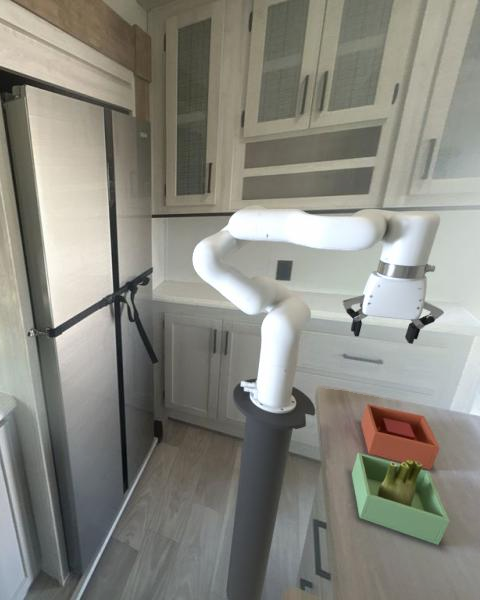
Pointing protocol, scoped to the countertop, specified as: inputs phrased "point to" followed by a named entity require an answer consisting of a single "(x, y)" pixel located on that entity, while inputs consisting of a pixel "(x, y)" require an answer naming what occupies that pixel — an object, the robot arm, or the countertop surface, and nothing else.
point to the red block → (396, 429)
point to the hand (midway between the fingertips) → (381, 337)
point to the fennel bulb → (400, 482)
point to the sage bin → (410, 520)
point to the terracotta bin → (395, 446)
